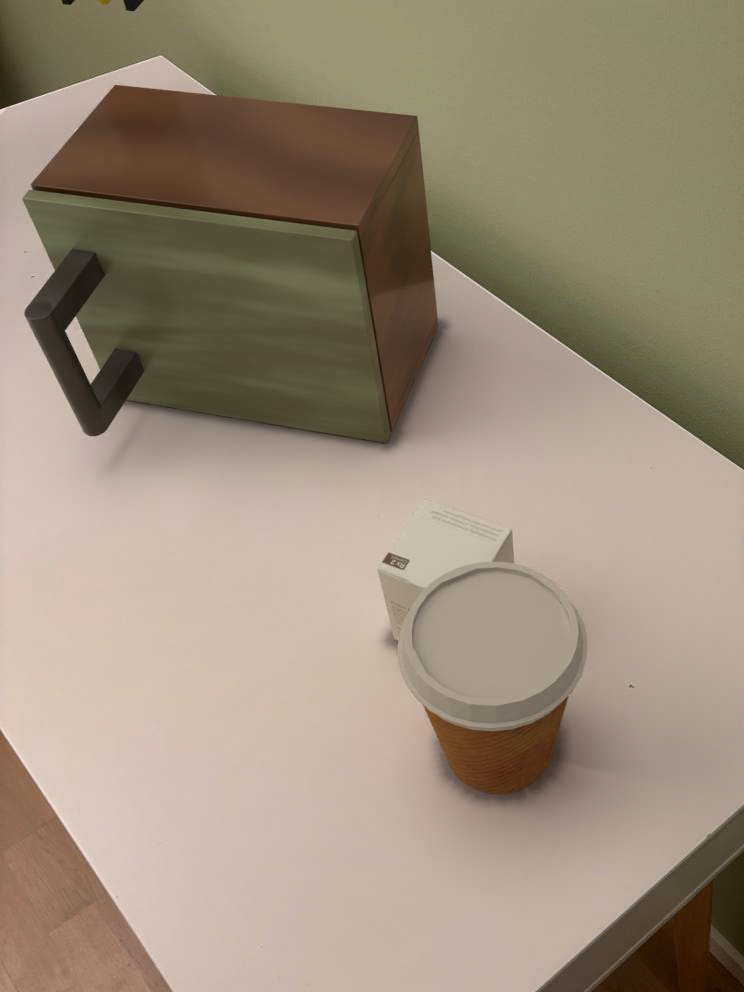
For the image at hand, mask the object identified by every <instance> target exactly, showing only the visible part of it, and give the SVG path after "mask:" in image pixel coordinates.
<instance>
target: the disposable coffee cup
mask: <svg viewBox="0 0 744 992" xmlns="http://www.w3.org/2000/svg"><path fill="white" fill-rule="evenodd" d="M588 645H589V643H588V634H587V631H586V626H585V624H584V622H583V619H582V616H581V615H580V612H579V611H578V609H577V608H576V607H575V605H574V604H573V603H572V602H571V600H570V599H569V597H568V595H567V594H566V593H565V592H564V591H563V590H562V588H561V587H559V585H558V584H557V583H555V582H554V581H553V580H552V579H550V578H549V577H547V576H546V575H544V574H542V572H539V571H537V570H535V569H532V568H530V567H528V566H526V565H522V564H516V563H514V564H513V563H507V562H481V563H475V564H469V565H466V566H462V567H459V568H456V569H454V570H452V571H450V572H448V573H445V574H444V575H442V576H440V577H439V578H437V579H436V580H434V581H433V582H432V583H431V584H430V585H429V586H427V587H426V588H425V589H424V590H423V591H422V592H421V594H420V595H419V596H418V598H417V599H416V600H415V602H414V604H413V606H412V607H411V609H410V611H409V613H408V615H407V616H406V618H405V620H404V622H403V625H402V628H401V630H400V633H399V639H398V641H397V646H396V648H397V662H398V667H399V669H400V673H401V676H402V678H403V681H404V684H405V685H406V687H407V688H408V689H409V691H410V692H411V694H412V695H413V697H414V698H415V699H416V700H417V701H418V702H419V703H420V704H421V705H422V706H423V708H424V711H425V713H426V715H427V717H428V719H429V722H430V725H431V726H432V729H433V731H434V733H435V736H436V737H437V740H438V742H439V743H440V746H441V748H442V751H443V752H444V755H445V757H446V760H447V762H448V765H449V767H450V769H451V770H452V771H453V773H454V775H455V776H456V777H457V778H458V779H459V780H460V781H461V782H462V783H464V784H465V785H467V786H468V787H470V788H472V789H475V790H477V791H479V792H483V793H488V794H491V795H492V794H496V795H501V794H510V793H515V792H519V791H521V790H523V789H524V788H526V787H528V786H530V785H532V784H534V782H536V781H538V779H539V778H540V777H541V776H542V775H543V774H544V772H545V771H546V769H547V767H548V765H549V764H550V762H551V760H552V756H553V751H554V747H555V744H556V741H557V737H558V734H559V730H560V727H561V723H562V720H563V717H564V713H565V710H566V707H567V703H568V700H569V696H570V695H571V694H572V693H573V692H574V690H575V688H576V686H577V684H578V683H579V681H580V680H581V678H582V675H583V672H584V669H585V665H586V663H587V659H588V658H587V657H588Z"/></svg>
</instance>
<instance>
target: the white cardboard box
mask: <svg viewBox="0 0 744 992" xmlns="http://www.w3.org/2000/svg"><path fill="white" fill-rule="evenodd" d="M513 535H514V534H513V529H512V528H510V527H507V526H504V525H502V524H498V523H495V522H492V521H489V520H487V519H484V518H481V517H479V516H475V515H473V514H470V513H467V512H464V511H461V510H458V509H455V508H453V507H450V506H447V505H445V504H441V503H438V502H436V501H433V500H430V499H427V498H425V499H424V500H423V501H422V502H421V503H420V505H419V506H418V508H417V509H416V510H415V512H414V514H413V515H412V517H411V518H410V520H409V521H408V523H407V524H406V525H405V527H404V528H403V530H402V532H401V533H400V534H399V536H398V538H397V539H396V540H395V542H394V543H393V545H392V546H391V548H390V549H389V550H388V552H387V554H386V555H385V557H384V558H383V559H382V561H381V562H380V563H379V565H378V567H377V569H376V570H377V574H378V578H379V582H380V587H381V590H382V594H383V598H384V603H385V606H386V610H387V611H386V612H387V615H388V619H389V623H390V627H391V632H392V636H393V639H394V640H395V641H397V642H398V639H399V633H400V630H401V628H402V625H403V622H404V620H405V618H406V616H407V615H408V613H409V611H410V609H411V607H412V606H413V604H414V602H415V600H416V599H417V598H418V596H419V595H420V594H421V592H422V591H423V590H424V589H425V588H426V587H427V586H429V585H430V584H431V583H432V582H433V581H434V580H436V579H437V578H439V577H440V576H442V575H444V574H445V573H448V572H450V571H452V570H454V569H456V568H459V567H462V566H466V565H469V564H475V563H481V562H507V563H513V564H515V553H514V550H515V549H514V540H513V539H514V536H513Z"/></svg>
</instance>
